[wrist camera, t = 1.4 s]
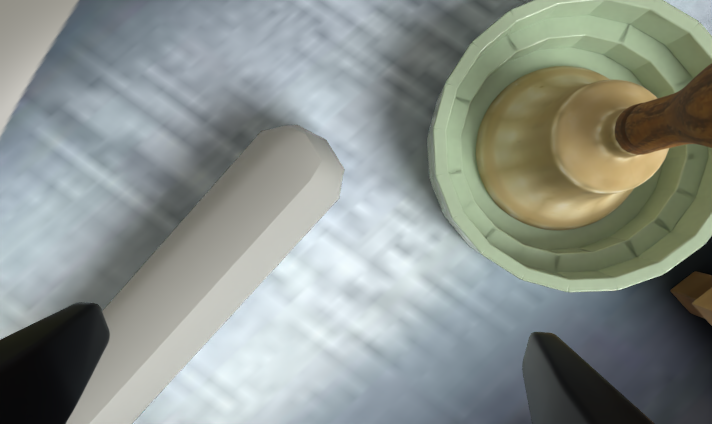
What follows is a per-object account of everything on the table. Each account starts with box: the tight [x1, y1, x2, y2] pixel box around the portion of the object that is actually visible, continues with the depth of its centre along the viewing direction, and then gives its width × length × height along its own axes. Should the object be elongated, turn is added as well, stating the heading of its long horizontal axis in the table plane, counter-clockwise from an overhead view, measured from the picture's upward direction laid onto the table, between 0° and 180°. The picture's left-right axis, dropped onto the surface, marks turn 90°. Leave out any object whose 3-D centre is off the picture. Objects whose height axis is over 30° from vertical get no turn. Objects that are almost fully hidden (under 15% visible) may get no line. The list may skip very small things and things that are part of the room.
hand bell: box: [476, 63, 712, 230], centre depth 13 cm, size 8×8×16 cm
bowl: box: [427, 0, 712, 292], centre depth 20 cm, size 13×13×4 cm
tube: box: [66, 125, 345, 424], centre depth 21 cm, size 5×5×25 cm
